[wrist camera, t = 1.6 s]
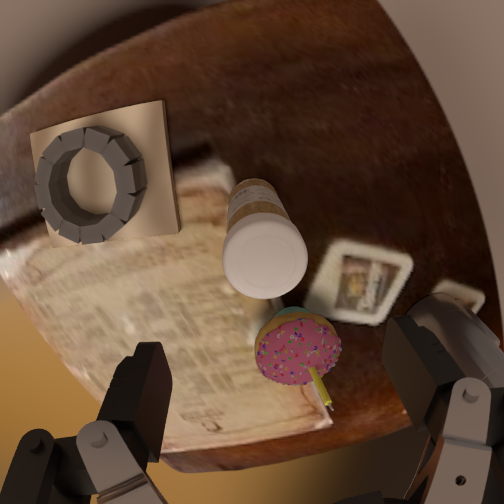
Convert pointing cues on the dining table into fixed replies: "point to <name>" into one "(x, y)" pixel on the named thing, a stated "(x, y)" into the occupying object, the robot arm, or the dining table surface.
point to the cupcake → (297, 349)
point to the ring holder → (106, 176)
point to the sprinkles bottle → (261, 243)
